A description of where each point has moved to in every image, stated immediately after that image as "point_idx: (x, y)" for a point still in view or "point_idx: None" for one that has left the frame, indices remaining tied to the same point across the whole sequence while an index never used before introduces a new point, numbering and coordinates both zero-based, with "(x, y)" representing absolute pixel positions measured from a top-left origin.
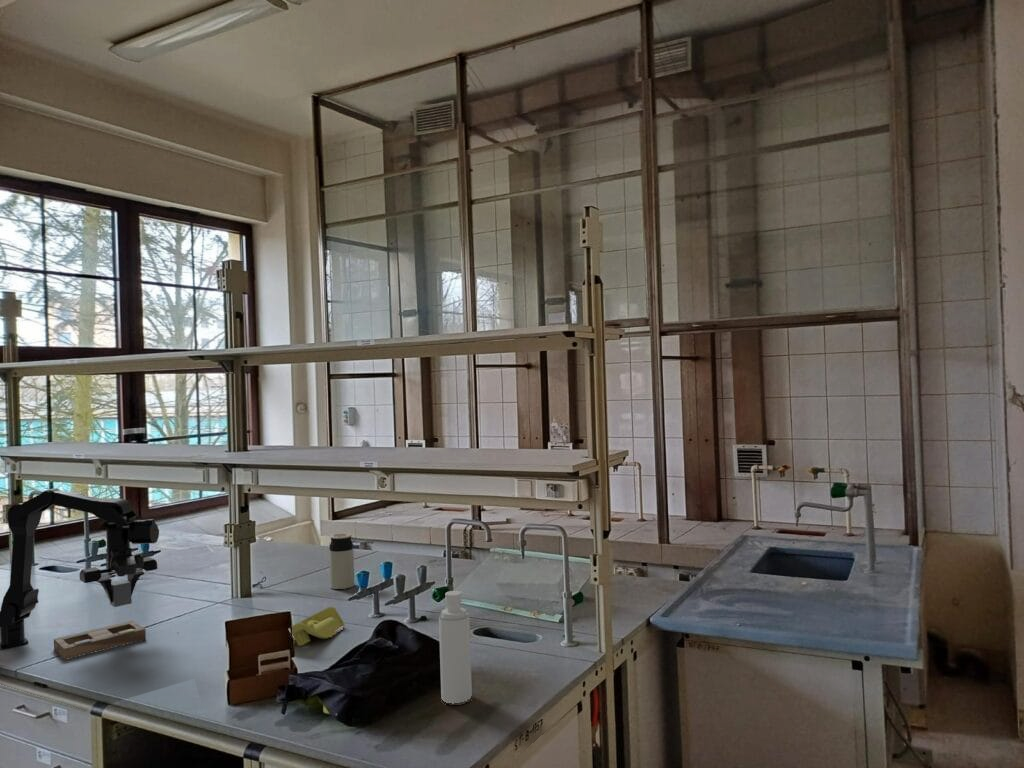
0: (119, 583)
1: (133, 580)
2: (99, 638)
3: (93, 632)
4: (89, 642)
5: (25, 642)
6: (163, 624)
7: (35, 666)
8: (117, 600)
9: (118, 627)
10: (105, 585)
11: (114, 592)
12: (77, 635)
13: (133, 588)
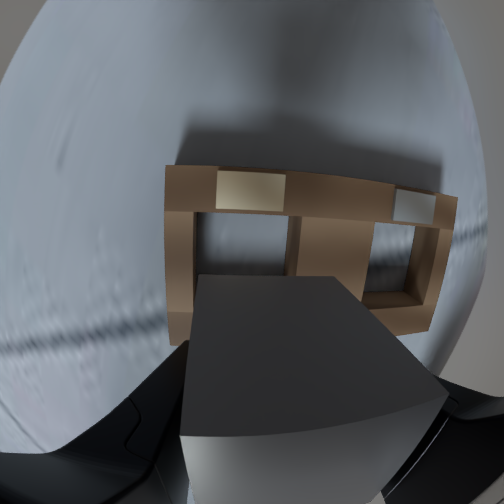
0: (346, 458)
1: (122, 463)
2: (361, 201)
3: None
4: (399, 185)
5: None
6: (76, 305)
7: (474, 210)
8: (328, 299)
9: None
10: (496, 399)
11: (393, 342)
12: (385, 313)
13: (147, 383)
